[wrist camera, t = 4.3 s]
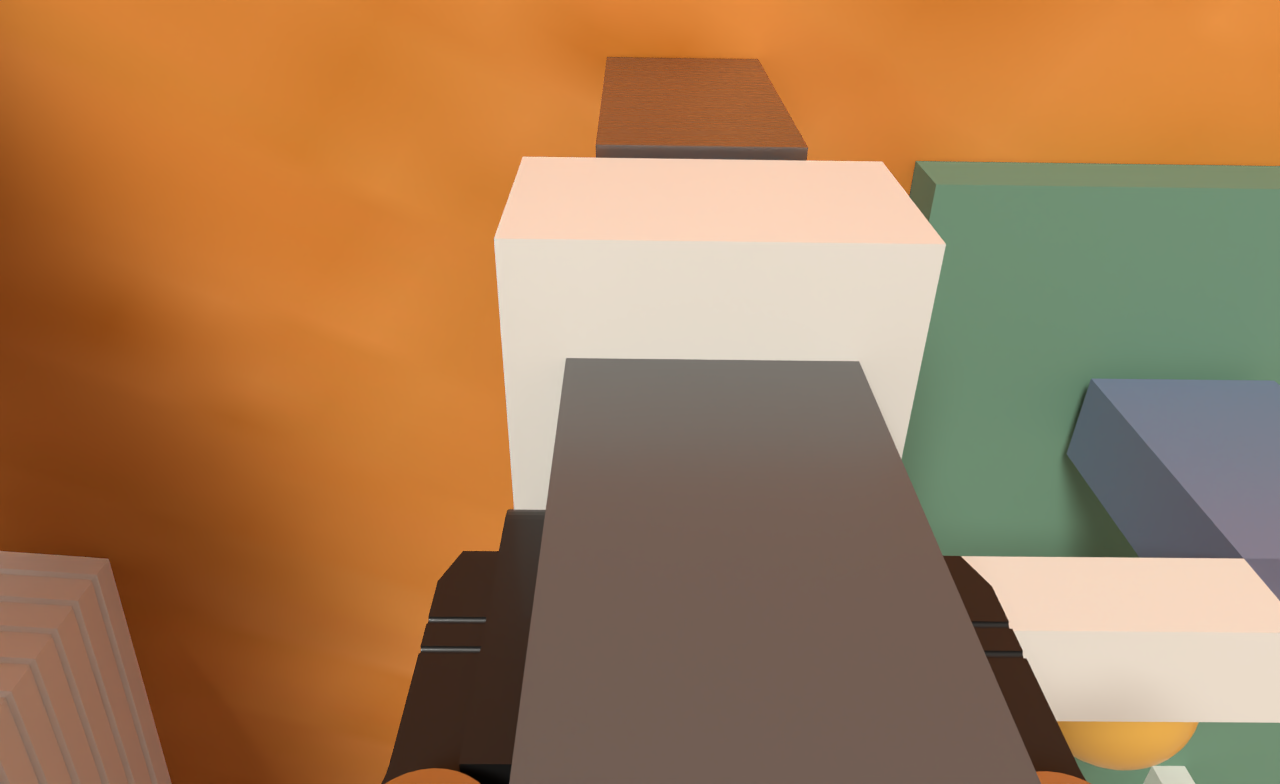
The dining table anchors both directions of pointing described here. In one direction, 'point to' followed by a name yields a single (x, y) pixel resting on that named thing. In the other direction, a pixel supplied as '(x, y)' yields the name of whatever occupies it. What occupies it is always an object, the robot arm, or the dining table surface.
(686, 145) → the rail
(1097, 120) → the dining table surface
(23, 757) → the white ribbed long block
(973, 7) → the dining table surface
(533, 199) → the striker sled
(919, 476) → the pitch
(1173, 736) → the ball
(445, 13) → the dining table surface
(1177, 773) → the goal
